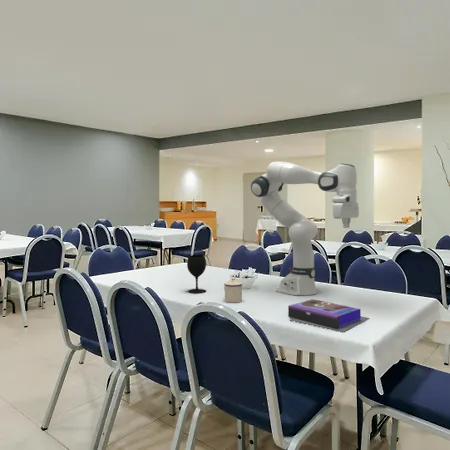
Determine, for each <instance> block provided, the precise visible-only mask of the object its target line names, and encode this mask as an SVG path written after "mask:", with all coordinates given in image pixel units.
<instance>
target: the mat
mask: <svg viewBox="0 0 450 450" xmlns="http://www.w3.org/2000/svg"><path fill="white" fill-rule="evenodd" d="M367 319H368V320H369V319H370V317H366V316H362V315H361V318H360V320H359V321H357V322H354V323H352V324H349V325H346V326H344V327H341V328H338V329H334V328H330V327H326V326H322V325H319V324H315V323H311V322H307V321H303V320H299V319H295V318H291V319H289V321H290V322H292V321H295V322H294V323H297V322H299V323H298V324H302V323H303V324H302V325H306V324H308V325H307V326H311V325H313V326H312V327H316V326H318V327H317V328H320V327H322V328H321V329H325V328H326V330H329V329H331V330H330V331H334V330H336V331H335V332H339V331H340V333H343V332H344V333H346V332H347V330H348V331H349V330H351V329H353V328H355V327H357V326H359V325H360V324H362V323H364V322H366V321H368V320H367ZM358 324H359V325H358ZM356 325H357V326H356ZM354 326H355V327H354ZM352 327H353V328H352ZM350 328H351V329H350ZM345 331H346V332H345Z"/></svg>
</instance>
